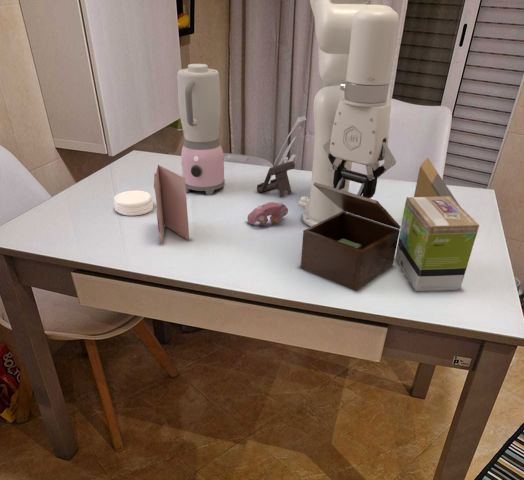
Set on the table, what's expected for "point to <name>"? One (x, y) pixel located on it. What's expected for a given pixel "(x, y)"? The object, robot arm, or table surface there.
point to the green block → (351, 243)
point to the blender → (201, 128)
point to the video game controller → (267, 213)
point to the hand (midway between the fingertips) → (353, 192)
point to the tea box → (435, 243)
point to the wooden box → (349, 249)
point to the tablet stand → (277, 179)
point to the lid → (357, 200)
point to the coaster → (133, 203)
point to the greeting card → (171, 202)
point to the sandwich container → (431, 182)
